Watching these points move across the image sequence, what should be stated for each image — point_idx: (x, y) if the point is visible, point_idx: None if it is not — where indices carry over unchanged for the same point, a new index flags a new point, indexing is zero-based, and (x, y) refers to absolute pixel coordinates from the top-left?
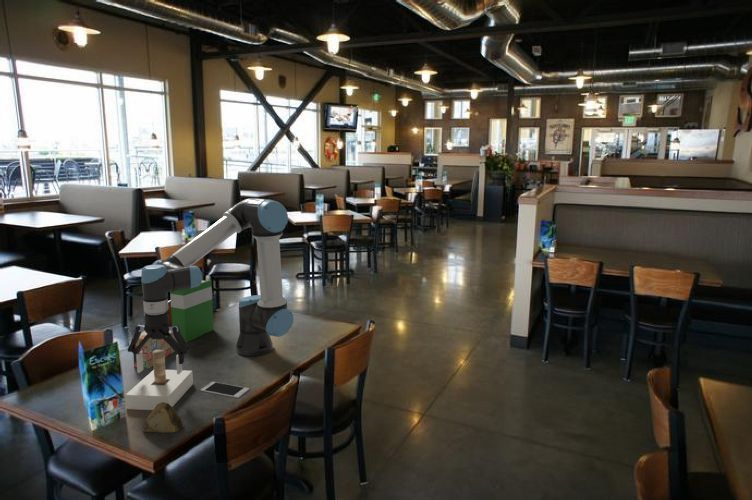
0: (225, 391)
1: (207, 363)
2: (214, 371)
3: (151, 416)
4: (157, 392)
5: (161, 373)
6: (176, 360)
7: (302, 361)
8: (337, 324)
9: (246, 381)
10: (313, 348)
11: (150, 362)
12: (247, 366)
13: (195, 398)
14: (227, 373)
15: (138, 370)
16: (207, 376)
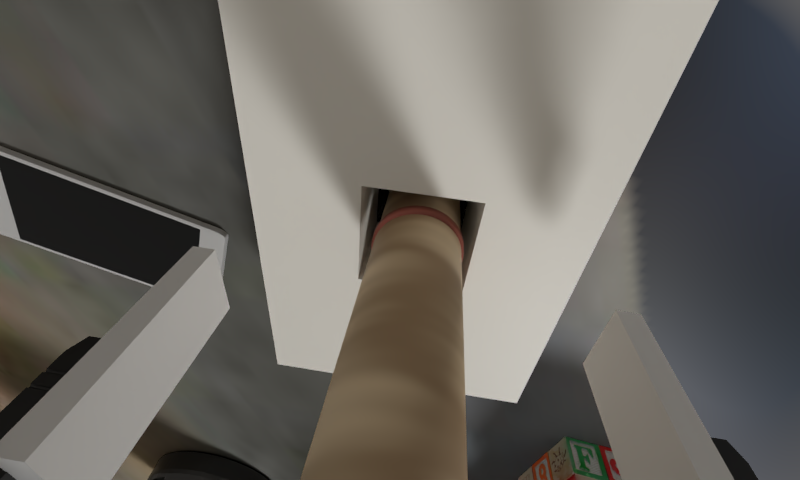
0: (78, 206)
1: None
2: (268, 385)
3: None
4: (367, 34)
5: (375, 274)
6: (92, 383)
7: (7, 404)
8: None
9: (76, 299)
10: None
11: (560, 467)
12: None
13: (200, 143)
14: (205, 366)
15: (637, 331)
16: (274, 354)
